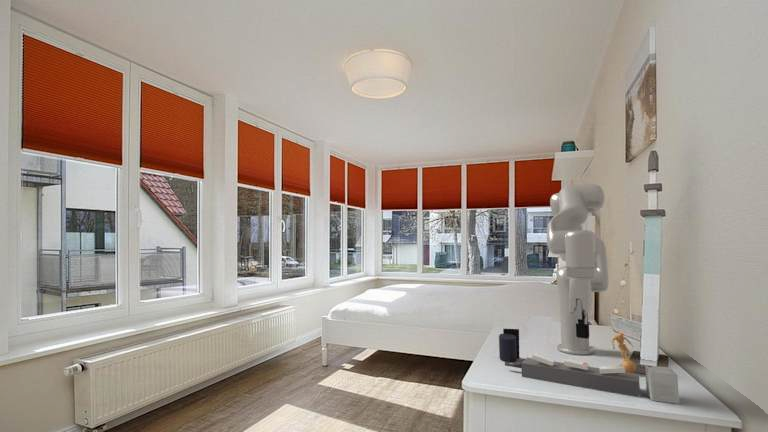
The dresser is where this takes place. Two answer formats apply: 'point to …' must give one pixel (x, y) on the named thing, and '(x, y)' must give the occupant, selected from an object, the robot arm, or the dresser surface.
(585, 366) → the block
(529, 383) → the dresser surface
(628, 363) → the figurine
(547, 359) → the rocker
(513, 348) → the speaker
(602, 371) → the block
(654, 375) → the skincare box
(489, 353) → the dresser surface
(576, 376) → the power strip
